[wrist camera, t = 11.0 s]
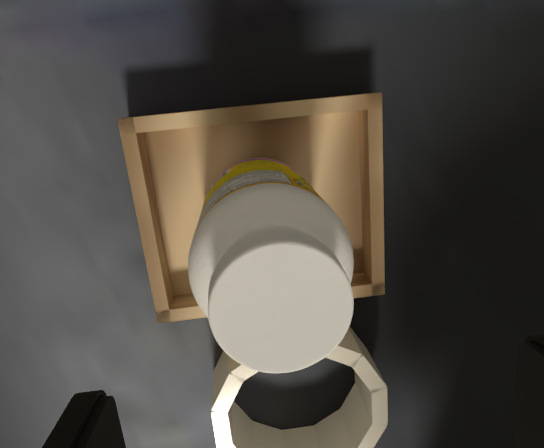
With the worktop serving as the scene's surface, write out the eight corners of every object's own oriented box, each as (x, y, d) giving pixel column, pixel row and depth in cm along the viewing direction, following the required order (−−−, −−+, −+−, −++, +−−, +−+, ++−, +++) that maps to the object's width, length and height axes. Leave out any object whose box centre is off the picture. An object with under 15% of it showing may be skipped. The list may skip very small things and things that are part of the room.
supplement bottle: (318, 251, 26) (391, 383, 14) (215, 268, 26) (198, 418, 14) (305, 146, 24) (377, 193, 12) (194, 164, 24) (152, 230, 12)
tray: (368, 93, 24) (382, 92, 22) (372, 278, 28) (384, 294, 26) (128, 117, 24) (117, 118, 21) (164, 304, 27) (158, 323, 25)
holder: (365, 299, 28) (386, 330, 24) (369, 427, 32) (388, 473, 28) (205, 319, 28) (201, 354, 24) (226, 448, 31) (225, 497, 27)
